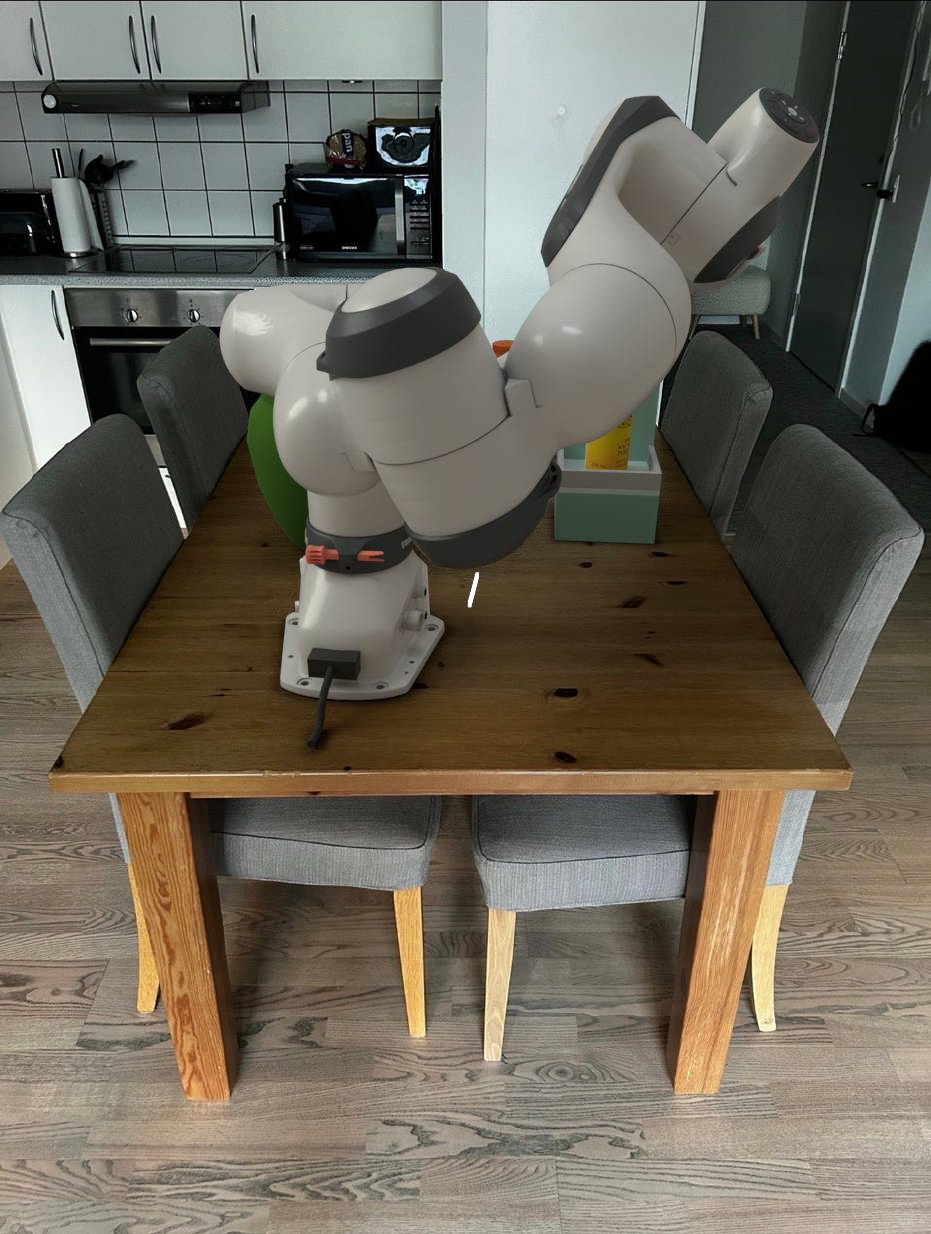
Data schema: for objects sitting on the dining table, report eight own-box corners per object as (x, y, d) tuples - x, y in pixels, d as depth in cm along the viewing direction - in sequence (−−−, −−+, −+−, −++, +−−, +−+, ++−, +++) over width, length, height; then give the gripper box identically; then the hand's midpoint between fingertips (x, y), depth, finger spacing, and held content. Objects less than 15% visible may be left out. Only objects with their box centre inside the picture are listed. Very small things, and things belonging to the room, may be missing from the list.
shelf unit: (654, 544, 134) (673, 374, 123) (554, 540, 135) (564, 371, 124) (645, 508, 146) (662, 350, 134) (554, 505, 146) (563, 348, 135)
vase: (376, 582, 123) (369, 396, 111) (235, 568, 127) (213, 386, 115) (413, 523, 140) (410, 357, 128) (288, 512, 143) (273, 349, 131)
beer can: (625, 481, 133) (635, 375, 126) (582, 478, 134) (589, 372, 127) (628, 467, 138) (637, 363, 131) (586, 464, 140) (593, 361, 132)
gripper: (627, 261, 95) (566, 341, 107) (778, 248, 104) (706, 323, 116) (604, 209, 96) (547, 293, 109) (755, 200, 105) (686, 279, 117)
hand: (630, 308), depth 112 cm, fingers open, 8 cm apart
